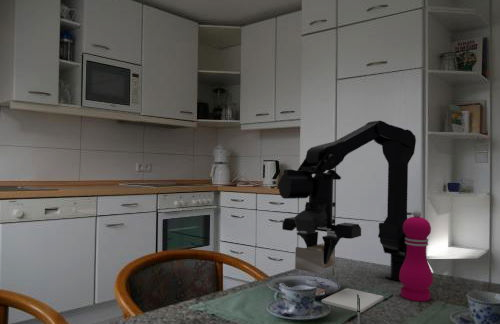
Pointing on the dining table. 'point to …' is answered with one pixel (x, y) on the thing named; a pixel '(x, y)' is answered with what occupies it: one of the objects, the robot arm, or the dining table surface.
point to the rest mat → (352, 299)
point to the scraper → (312, 259)
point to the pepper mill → (416, 260)
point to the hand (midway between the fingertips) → (319, 262)
